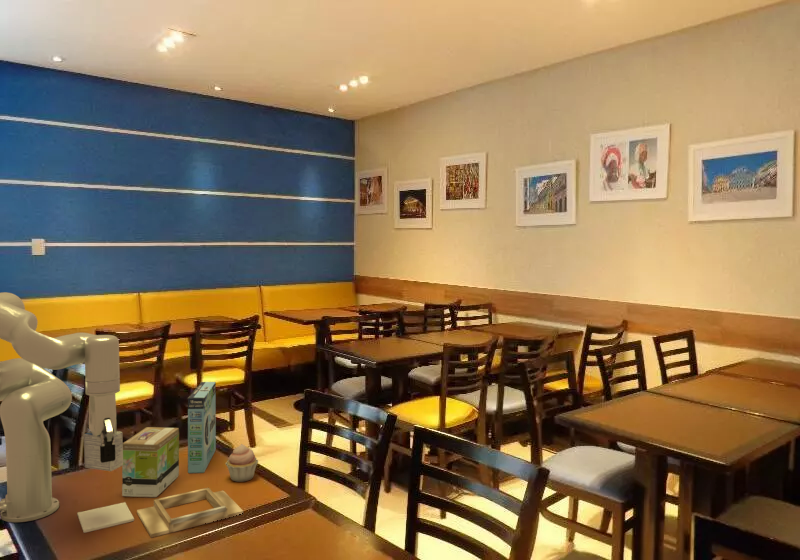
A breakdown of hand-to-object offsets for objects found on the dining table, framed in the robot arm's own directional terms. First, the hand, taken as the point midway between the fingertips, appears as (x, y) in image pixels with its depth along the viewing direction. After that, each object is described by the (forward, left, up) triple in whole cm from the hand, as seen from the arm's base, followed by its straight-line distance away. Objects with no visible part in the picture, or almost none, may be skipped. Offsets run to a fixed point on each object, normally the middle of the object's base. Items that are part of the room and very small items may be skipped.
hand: (104, 455), depth 148 cm
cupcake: (+37, +6, -16) cm, 41 cm away
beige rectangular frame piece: (+18, -9, -16) cm, 26 cm away
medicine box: (0, 0, -3) cm, 3 cm away
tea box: (+14, +14, -16) cm, 26 cm away
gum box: (+31, +25, -16) cm, 43 cm away
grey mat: (0, 0, -16) cm, 16 cm away
